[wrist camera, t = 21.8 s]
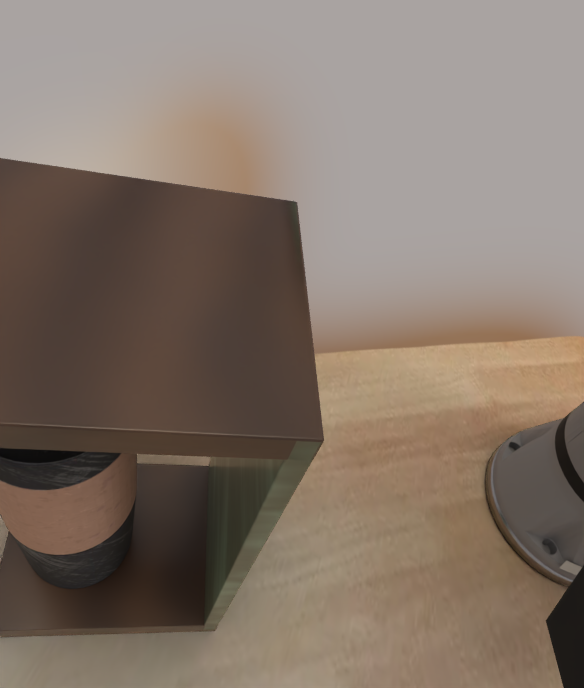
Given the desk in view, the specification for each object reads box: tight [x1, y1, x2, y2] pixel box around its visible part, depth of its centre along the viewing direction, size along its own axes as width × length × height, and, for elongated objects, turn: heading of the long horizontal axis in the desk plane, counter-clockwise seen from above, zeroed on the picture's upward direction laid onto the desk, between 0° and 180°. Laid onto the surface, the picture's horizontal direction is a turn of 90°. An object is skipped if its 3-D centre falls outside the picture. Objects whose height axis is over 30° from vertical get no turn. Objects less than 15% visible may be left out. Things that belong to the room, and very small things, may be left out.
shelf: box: [0, 158, 324, 637], centre depth 31 cm, size 15×12×30 cm
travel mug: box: [0, 448, 137, 589], centre depth 32 cm, size 8×8×20 cm
